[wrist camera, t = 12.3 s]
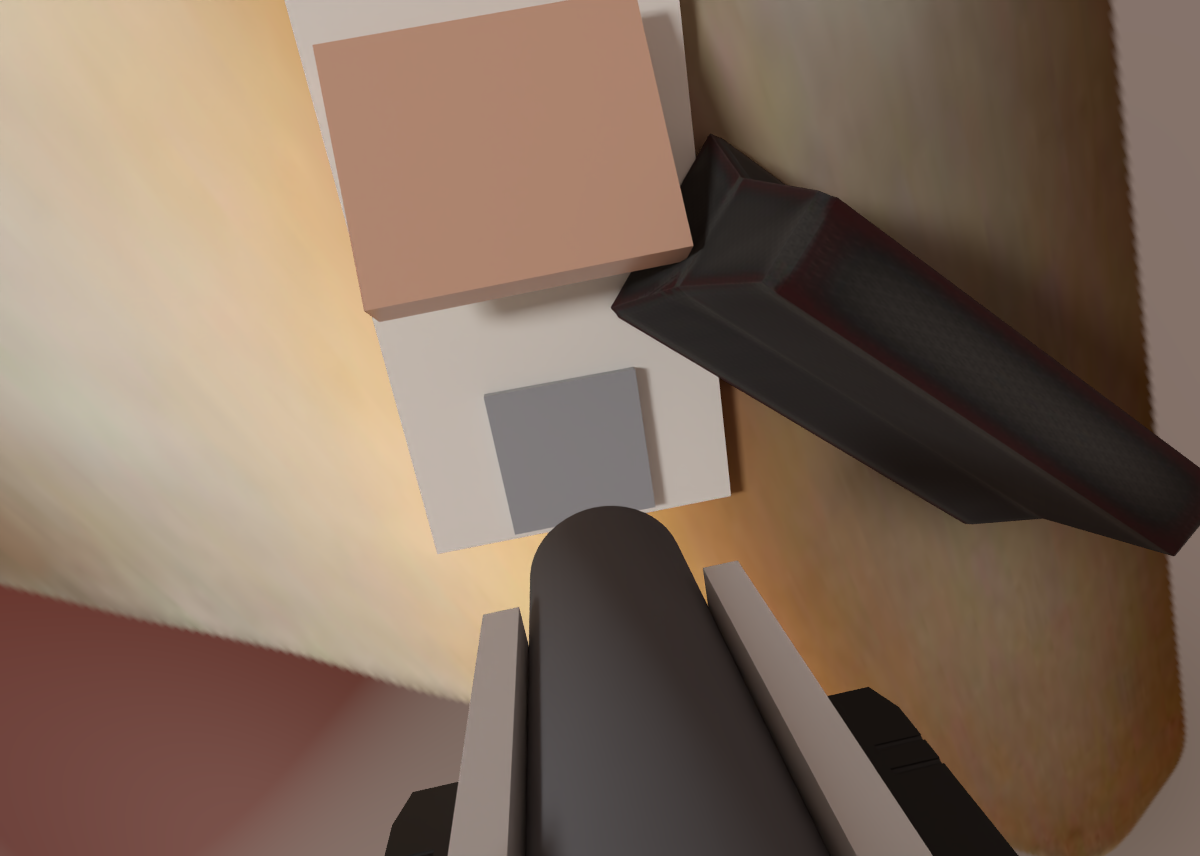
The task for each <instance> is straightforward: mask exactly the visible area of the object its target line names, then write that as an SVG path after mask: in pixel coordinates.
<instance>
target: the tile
mask: <svg viewBox="0 0 1200 856" xmlns="http://www.w3.org/2000/svg"><path fill="white" fill-rule="evenodd" d="M312 46H313V51H314V56H315V61H316V66H317V71H318V76H319V81H320V87H321V92H322V97H323V102H324V107H325V112H326V117H327V122H328V128H329V133H330V138H331V143H332V148H333V153H334V158H335V163H336V169H337V174H338V179H339V184H340V189H341V194H342V199H343V205H344V210H345V215H346V220H347V225H348V230H349V235H350V240H351V246H352V251H353V256H354V261H355V266H356V271H357V276H358V281H359V287H360V292H361V297H362V302H363V307H364V311H365V312H366V313H368V314H369V315H370V316H372V317H373V318H375V319H376V320H377V321H379V322H383V321H388V320H393V319H398V318H403V317H408V316H413V315H418V314H423V313H428V312H433V311H438V310H443V309H448V308H453V307H458V306H463V305H468V304H473V303H478V302H483V301H488V300H493V299H498V298H503V297H508V296H513V295H518V294H523V293H528V292H533V291H538V290H543V289H548V288H553V287H558V286H563V285H568V284H573V283H578V282H583V281H588V280H593V279H598V278H603V277H608V276H613V275H618V274H623V273H628V272H633V271H638V270H643V269H648V268H653V267H658V266H663V265H668V264H673V263H678V262H681V261H683V260H685V259H687V257H688V255H689V253H690V251H691V250H692V248H693V241H692V237H691V233H690V228H689V224H688V220H687V215H686V211H685V206H684V202H683V198H682V193H681V189H680V185H679V180H678V176H677V171H676V167H675V163H674V158H673V154H672V150H671V145H670V141H669V136H668V132H667V128H666V123H665V119H664V115H663V110H662V106H661V101H660V97H659V93H658V88H657V84H656V79H655V75H654V71H653V66H652V62H651V58H650V53H649V49H648V44H647V40H646V36H645V31H644V27H643V23H642V18H641V14H640V9H639V5H638V1H637V0H566V1H560V2H555V3H549V4H543V5H538V6H532V7H526V8H520V9H515V10H509V11H503V12H498V13H492V14H486V15H480V16H475V17H469V18H463V19H458V20H452V21H446V22H440V23H435V24H429V25H423V26H418V27H412V28H406V29H400V30H395V31H389V32H383V33H378V34H372V35H366V36H360V37H355V38H349V39H343V40H338V41H332V42H326V43H320V44H315V45H312Z"/></svg>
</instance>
